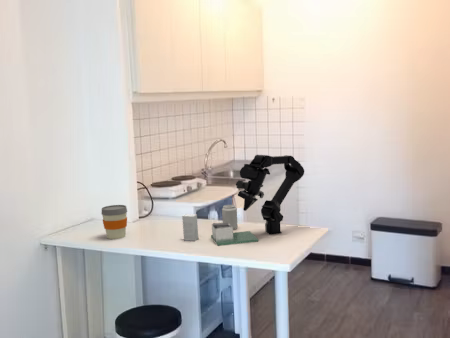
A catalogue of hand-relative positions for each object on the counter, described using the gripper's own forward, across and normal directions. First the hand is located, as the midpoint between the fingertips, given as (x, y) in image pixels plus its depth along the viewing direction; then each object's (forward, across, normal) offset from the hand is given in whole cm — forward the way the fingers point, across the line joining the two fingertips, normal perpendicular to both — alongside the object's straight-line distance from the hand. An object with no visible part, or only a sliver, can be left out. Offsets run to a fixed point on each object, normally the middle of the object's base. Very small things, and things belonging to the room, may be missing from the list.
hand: (244, 210), depth 247 cm
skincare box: (+22, +11, -15) cm, 29 cm away
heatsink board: (+13, +5, +2) cm, 14 cm away
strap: (+9, +9, -5) cm, 14 cm away
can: (+16, -13, -7) cm, 22 cm away
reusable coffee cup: (+39, +16, -52) cm, 67 cm away
